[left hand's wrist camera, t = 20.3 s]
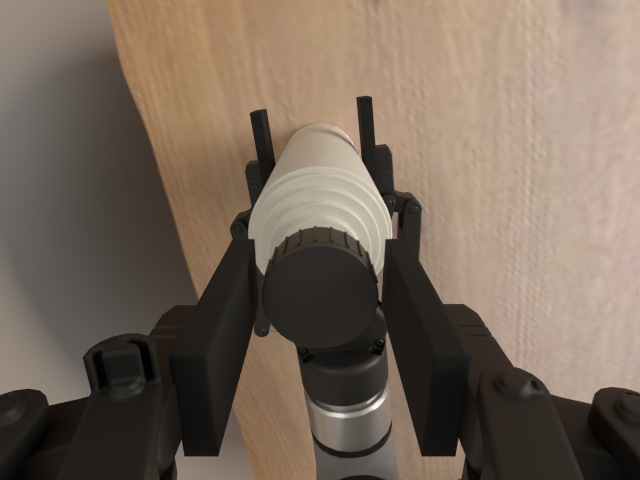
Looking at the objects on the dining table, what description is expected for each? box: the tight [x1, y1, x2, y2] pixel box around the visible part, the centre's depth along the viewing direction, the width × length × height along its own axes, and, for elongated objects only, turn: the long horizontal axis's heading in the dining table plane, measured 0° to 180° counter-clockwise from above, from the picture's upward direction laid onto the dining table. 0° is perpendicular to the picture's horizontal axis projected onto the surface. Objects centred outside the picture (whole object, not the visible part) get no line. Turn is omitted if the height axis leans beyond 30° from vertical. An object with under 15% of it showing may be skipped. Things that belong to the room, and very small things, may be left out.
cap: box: [262, 226, 379, 348], centre depth 14 cm, size 4×4×2 cm
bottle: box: [248, 123, 392, 275], centre depth 25 cm, size 6×6×24 cm
